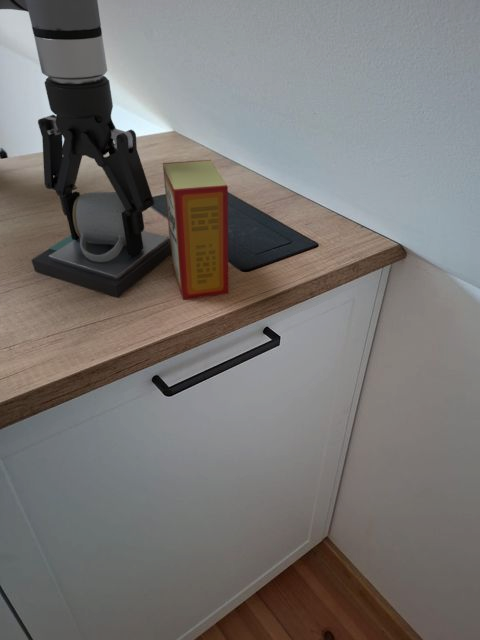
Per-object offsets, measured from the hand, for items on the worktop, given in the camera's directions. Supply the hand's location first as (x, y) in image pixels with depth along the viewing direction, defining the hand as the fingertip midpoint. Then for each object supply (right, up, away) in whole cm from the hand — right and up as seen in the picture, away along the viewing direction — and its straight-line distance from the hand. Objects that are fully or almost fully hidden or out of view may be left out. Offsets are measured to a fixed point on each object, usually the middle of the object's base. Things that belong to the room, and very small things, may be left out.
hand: (107, 243), depth 73 cm
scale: (-1, -2, +2) cm, 3 cm away
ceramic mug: (+1, 0, 0) cm, 1 cm away
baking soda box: (+14, -6, -1) cm, 15 cm away
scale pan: (0, -1, +1) cm, 1 cm away
